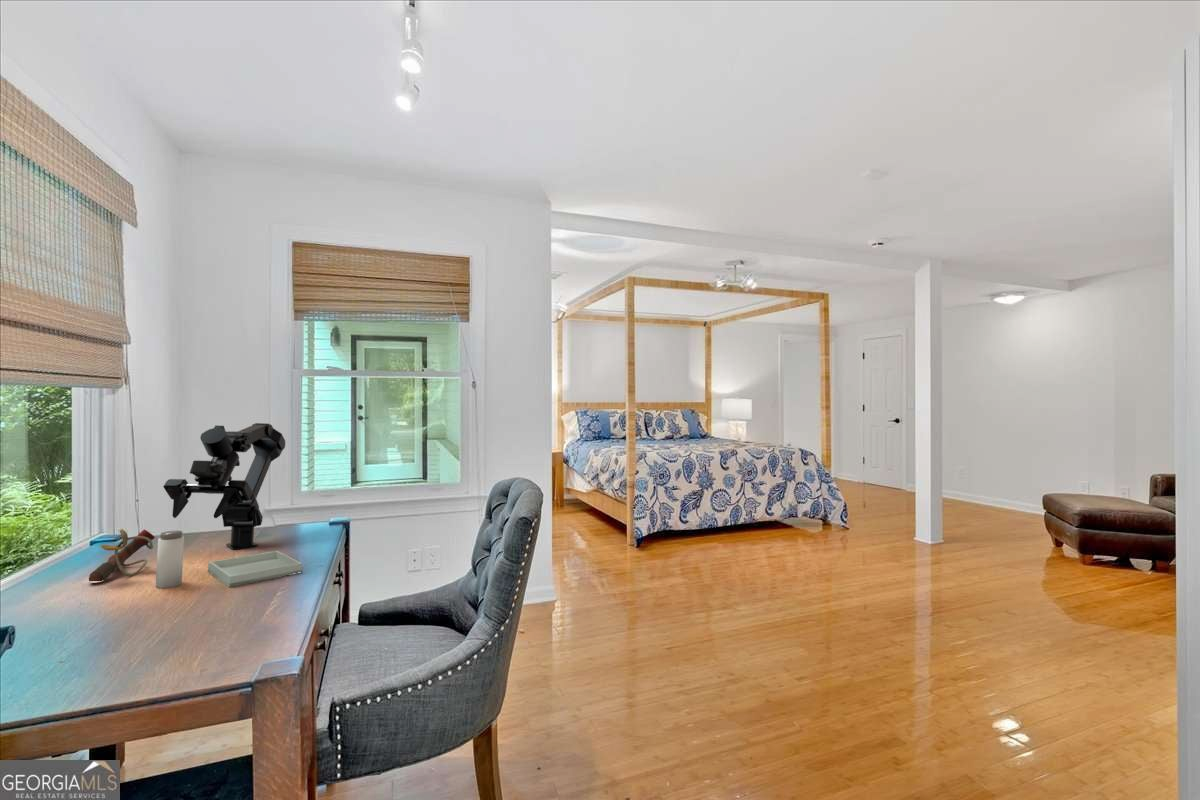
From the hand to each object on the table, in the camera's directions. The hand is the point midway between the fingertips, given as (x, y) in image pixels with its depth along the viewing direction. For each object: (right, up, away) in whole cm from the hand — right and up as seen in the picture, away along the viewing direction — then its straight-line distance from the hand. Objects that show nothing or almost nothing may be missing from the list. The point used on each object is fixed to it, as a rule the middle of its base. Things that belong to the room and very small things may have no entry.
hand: (194, 517), depth 135 cm
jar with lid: (0, -14, -8) cm, 16 cm away
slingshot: (-15, -14, -2) cm, 21 cm away
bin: (+13, -15, +3) cm, 20 cm away
